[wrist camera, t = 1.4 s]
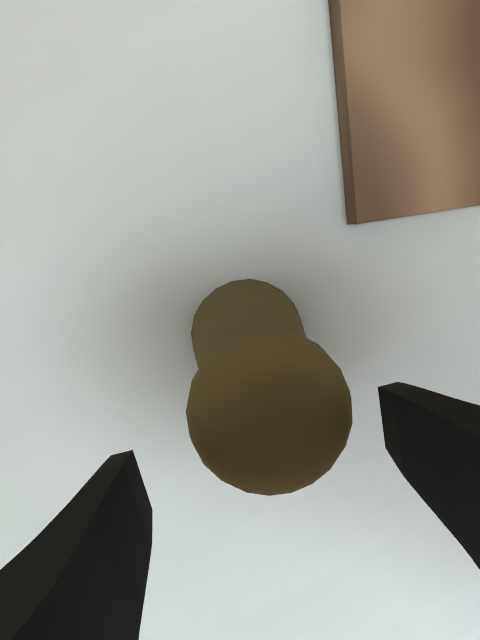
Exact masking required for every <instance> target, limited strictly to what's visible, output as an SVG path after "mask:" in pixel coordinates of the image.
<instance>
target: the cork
mask: <svg viewBox="0 0 480 640" xmlns="http://www.w3.org/2000/svg"><path fill="white" fill-rule="evenodd" d="M191 335H192V341H193V348H194V353H195V356H196V360H197V364H198V368H199V369H198V371H197V373H196V374H195V376H194V378H193V380H192V383H191V388H190V393H189V398H188V404H187V409H186V415H187V422H188V428H189V435H190V438H191V441H192V443H193V445H194V447H195V449H196V451H197V453H198V454H199V456H200V458H201V460H202V462H203V464H204V465H205V466H206V467H207V468H209V469H210V470H211V471H212V472H213V473H214V474H215V475H216V476H217V477H218V478H219V479H220V480H222V481H224V482H226V483H228V484H230V485H232V486H234V487H236V488H239V489H241V490H243V491H245V492H248V493H254V494H261V495H268V496H270V495H278V494H285V493H292V492H294V491H297V490H299V489H301V488H304V487H306V486H308V485H311V484H313V483H314V482H315V481H316V480H318V479H319V478H320V477H321V476H323V475H324V474H325V473H326V472H327V471H329V470H330V469H331V467H332V466H333V464H334V463H335V461H336V460H337V458H338V457H339V455H340V454H341V452H342V451H343V449H344V448H345V446H346V443H347V440H348V436H349V433H350V429H351V426H352V405H351V396H350V391H349V388H348V386H347V384H346V381H345V379H344V376H343V374H342V371H341V369H340V368H339V367H338V366H337V364H336V363H335V362H334V361H333V360H332V359H331V358H330V357H329V356H328V354H327V353H326V352H325V351H324V350H323V349H322V348H321V347H320V346H319V345H318V344H316V343H314V342H312V341H311V340H309V339H307V338H306V335H305V332H304V329H303V326H302V322H301V319H300V317H299V315H298V312H297V310H296V308H295V305H294V303H293V302H292V301H291V300H290V299H289V298H288V297H287V296H286V295H285V293H284V292H283V291H281V290H280V289H278V288H276V287H274V286H272V285H271V284H269V283H267V282H262V281H257V280H252V279H247V280H238V281H232V282H229V283H227V284H225V285H223V286H221V287H219V288H216V289H215V290H214V291H213V292H212V293H211V294H210V295H209V296H207V297H206V298H205V299H204V300H203V301H202V303H201V305H200V307H199V309H198V310H197V312H196V314H195V316H194V321H193V326H192V331H191Z"/></svg>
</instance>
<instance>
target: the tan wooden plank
mask: <svg viewBox="0 0 480 640" xmlns="http://www.w3.org/2000/svg"><path fill="white" fill-rule="evenodd" d="M329 11H330V23H331V35H332V47H333V59H334V71H335V82H336V94H337V106H338V118H339V130H340V142H341V153H342V165H343V177H344V189H345V201H346V213H347V224H361V223H368V222H374V221H381V220H387V219H394V218H400V217H407V216H413V215H420V214H426V213H432V212H439V211H445V210H452V209H458V208H465V207H471V206H478V205H480V0H329Z"/></svg>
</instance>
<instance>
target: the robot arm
mask: <svg viewBox="0 0 480 640" xmlns="http://www.w3.org/2000/svg"><path fill="white" fill-rule="evenodd" d="M378 393H379V400H380V408H381V416H382V424H383V432H384V439H385V447H386V449H387V451H388V452H389V454H390V456H391V457H392V459H393V461H394V462H395V464H396V465H397V467H398V468H399V470H400V471H401V473H402V474H403V476H404V477H405V478H406V480H407V481H408V482H409V483H410V485H411V486H412V487H413V488H414V489H415V491H416V492H417V493H418V494H419V495H420V497H421V498H422V499H423V500H424V501H425V502H426V504H427V505H428V506H429V507H430V508H431V510H432V511H433V512H434V513H435V514H436V515H437V517H438V518H439V519H440V520H441V521H442V522H443V524H444V525H445V526H446V527H447V528H448V530H449V531H450V532H451V533H452V534H453V535H454V537H455V538H456V539H457V540H458V541H459V543H460V544H461V545H462V546H463V548H464V549H465V550H466V552H467V553H468V554H469V555H470V557H471V558H472V559H473V561H474V562H475V564H476V565H477V566H478V568H479V569H480V406H479V405H476V404H472V403H469V402H465V401H462V400H458V399H455V398H452V397H449V396H445V395H442V394H439V393H436V392H432V391H429V390H426V389H423V388H419V387H416V386H413V385H409V384H405V383H400V382H396V383H392V384H388V385H384V386H380V387H378ZM151 547H152V507H151V504H150V501H149V498H148V495H147V492H146V489H145V486H144V483H143V480H142V477H141V474H140V471H139V468H138V465H137V462H136V459H135V456H134V453H133V450H131V451H127V452H123V453H119V454H115V455H111V456H110V457H109V458H108V459H107V460H106V461H105V462H104V463H103V464H102V466H101V467H100V468H99V469H98V470H97V471H96V472H95V474H94V475H93V476H92V477H91V478H90V479H89V480H88V482H87V483H86V484H85V485H84V486H83V487H82V488H81V490H80V491H79V492H78V493H77V494H76V495H75V496H74V498H73V499H72V500H71V501H70V502H69V503H68V504H67V505H66V507H65V508H64V509H63V510H62V511H61V512H60V513H59V514H58V515H57V516H56V517H55V518H54V519H53V520H52V521H51V522H50V523H49V524H48V525H47V526H46V527H45V529H44V530H43V531H42V532H41V533H40V534H39V535H38V536H37V537H36V538H35V539H34V540H33V541H32V542H31V543H29V544H28V545H27V546H26V547H25V548H24V549H23V550H22V551H21V552H20V553H19V554H18V555H16V556H15V557H14V558H13V559H12V560H11V561H10V562H9V563H8V564H6V565H5V566H4V567H3V568H2V569H1V570H0V640H138V639H139V630H140V624H141V617H142V610H143V603H144V597H145V590H146V583H147V576H148V569H149V562H150V555H151Z"/></svg>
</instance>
